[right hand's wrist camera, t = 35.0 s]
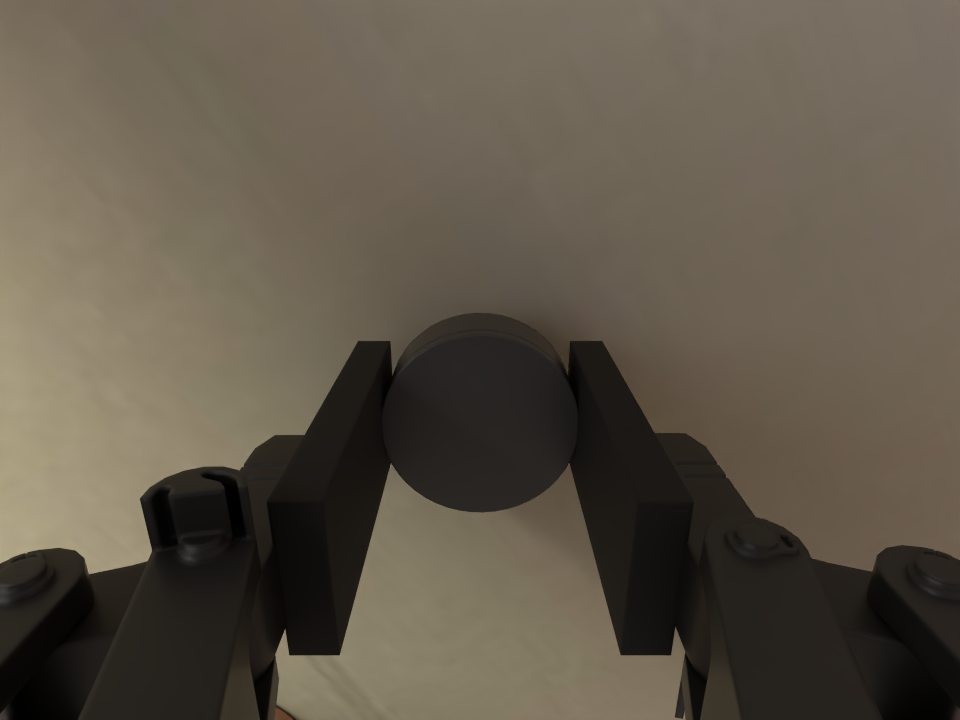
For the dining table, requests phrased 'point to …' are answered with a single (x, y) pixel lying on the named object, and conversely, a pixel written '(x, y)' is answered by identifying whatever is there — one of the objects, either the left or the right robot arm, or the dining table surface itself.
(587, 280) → the dining table surface
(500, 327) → the cap
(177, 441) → the dining table surface
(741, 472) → the dining table surface
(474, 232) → the dining table surface
